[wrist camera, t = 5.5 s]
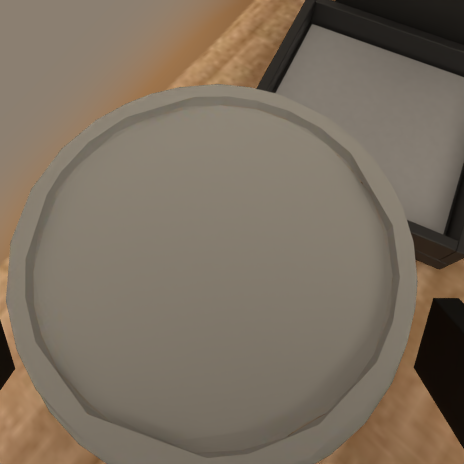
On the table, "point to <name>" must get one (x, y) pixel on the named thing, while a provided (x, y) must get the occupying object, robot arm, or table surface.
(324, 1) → the coffee machine
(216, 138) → the disposable coffee cup
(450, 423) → the robot arm
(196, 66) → the table surface
